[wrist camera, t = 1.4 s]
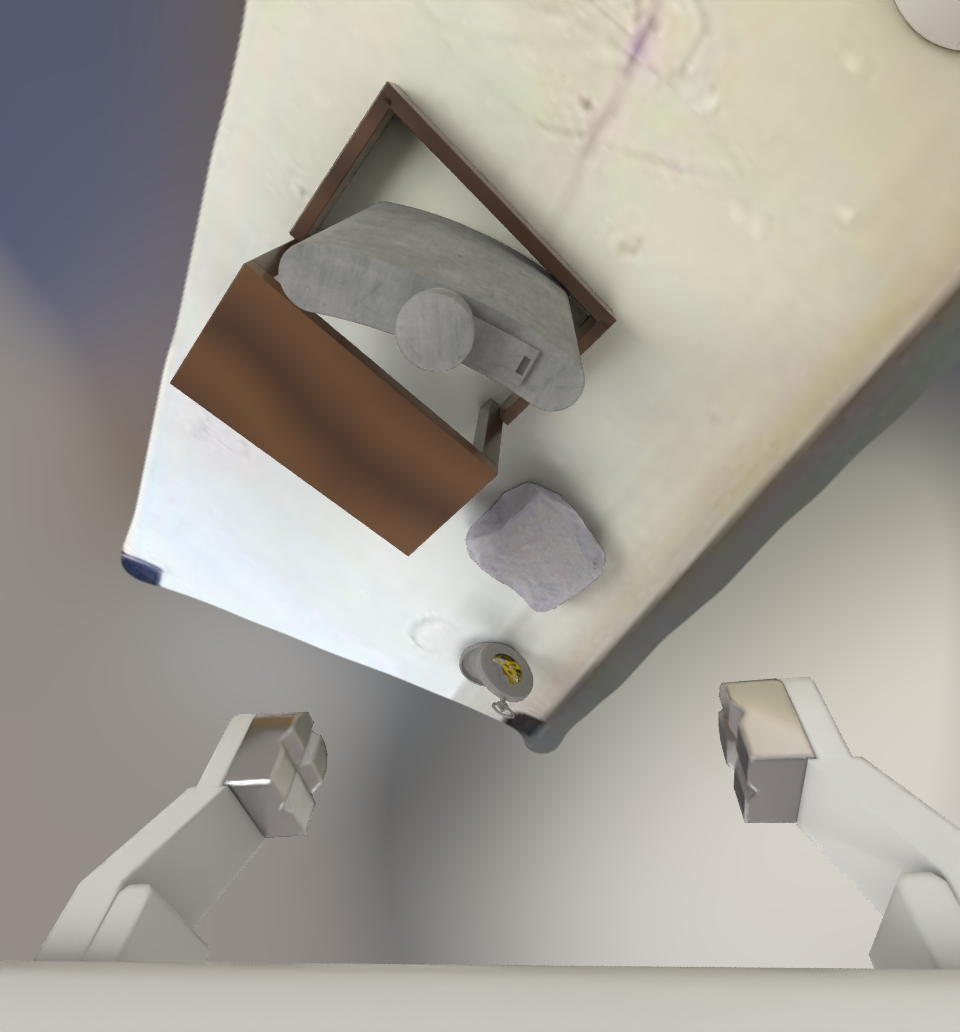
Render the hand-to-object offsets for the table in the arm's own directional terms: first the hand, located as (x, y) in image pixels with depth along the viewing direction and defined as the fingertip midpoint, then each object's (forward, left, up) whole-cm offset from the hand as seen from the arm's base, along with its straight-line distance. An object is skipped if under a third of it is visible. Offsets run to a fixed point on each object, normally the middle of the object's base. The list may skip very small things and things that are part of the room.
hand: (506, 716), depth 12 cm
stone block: (+16, +17, -39) cm, 46 cm away
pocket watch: (+31, +25, -39) cm, 56 cm away
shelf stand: (+9, -4, -39) cm, 40 cm away
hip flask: (+2, -4, -39) cm, 39 cm away
